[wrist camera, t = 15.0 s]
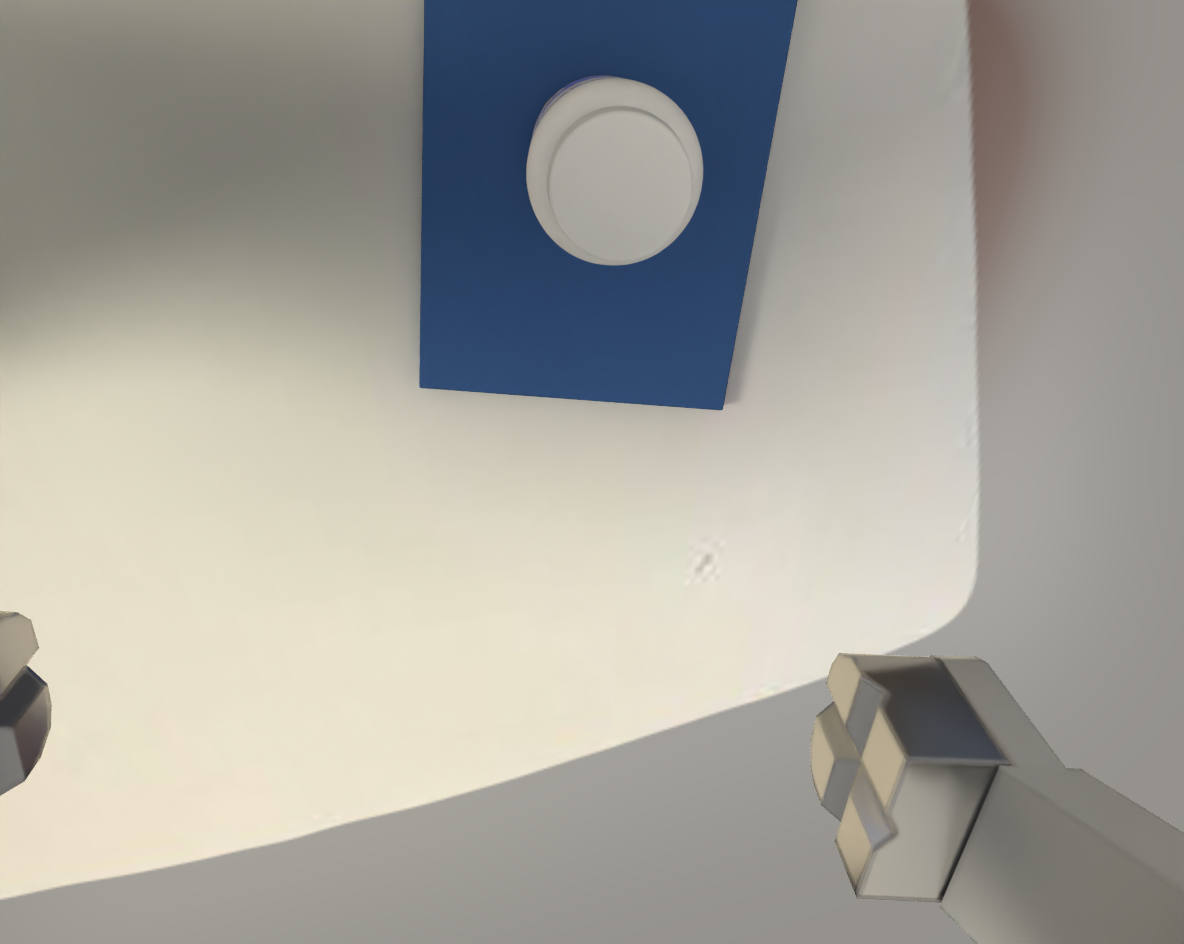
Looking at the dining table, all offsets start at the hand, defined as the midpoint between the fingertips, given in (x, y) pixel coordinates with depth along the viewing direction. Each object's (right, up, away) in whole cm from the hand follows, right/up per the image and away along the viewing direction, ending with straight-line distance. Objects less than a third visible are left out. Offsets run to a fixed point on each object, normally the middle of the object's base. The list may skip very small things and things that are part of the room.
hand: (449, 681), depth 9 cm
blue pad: (+2, +15, +23) cm, 27 cm away
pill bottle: (+2, +14, +23) cm, 27 cm away
